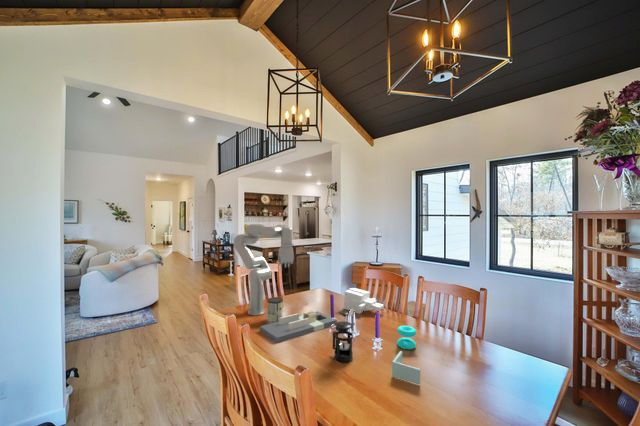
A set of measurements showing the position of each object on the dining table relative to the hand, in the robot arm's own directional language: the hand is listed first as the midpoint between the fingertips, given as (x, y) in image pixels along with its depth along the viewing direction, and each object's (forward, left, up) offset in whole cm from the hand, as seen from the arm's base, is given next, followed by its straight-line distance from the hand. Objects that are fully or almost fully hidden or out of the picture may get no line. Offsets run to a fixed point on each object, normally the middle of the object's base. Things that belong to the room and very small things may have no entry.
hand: (285, 273), depth 190 cm
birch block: (+16, +9, -29) cm, 34 cm away
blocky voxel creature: (+18, +58, -32) cm, 69 cm away
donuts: (+71, +34, -32) cm, 85 cm away
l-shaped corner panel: (+88, +11, -33) cm, 95 cm away
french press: (+59, -3, -32) cm, 67 cm away
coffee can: (-5, -5, -32) cm, 33 cm away
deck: (+15, +2, -32) cm, 35 cm away
